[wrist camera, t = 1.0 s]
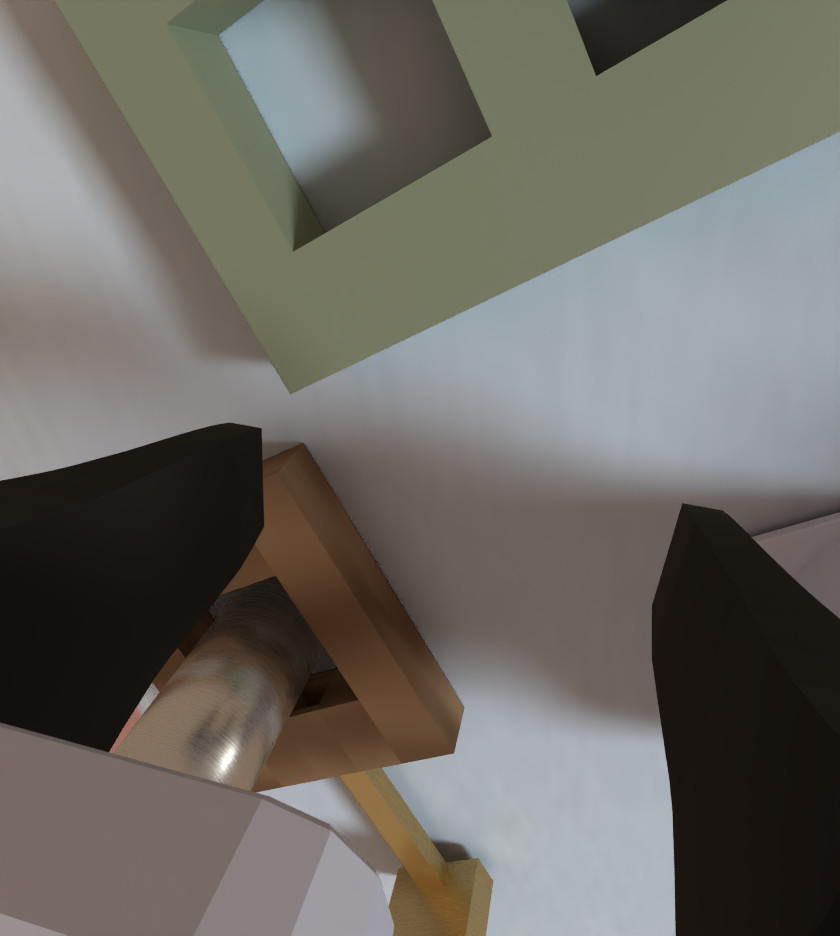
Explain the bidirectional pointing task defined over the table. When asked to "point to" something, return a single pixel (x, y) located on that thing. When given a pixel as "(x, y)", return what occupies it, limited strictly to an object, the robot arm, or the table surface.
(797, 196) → the table surface
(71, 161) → the table surface
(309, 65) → the table surface
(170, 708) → the steel peg
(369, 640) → the socket holder
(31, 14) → the table surface
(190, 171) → the tool rack
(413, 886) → the tan block with bar
